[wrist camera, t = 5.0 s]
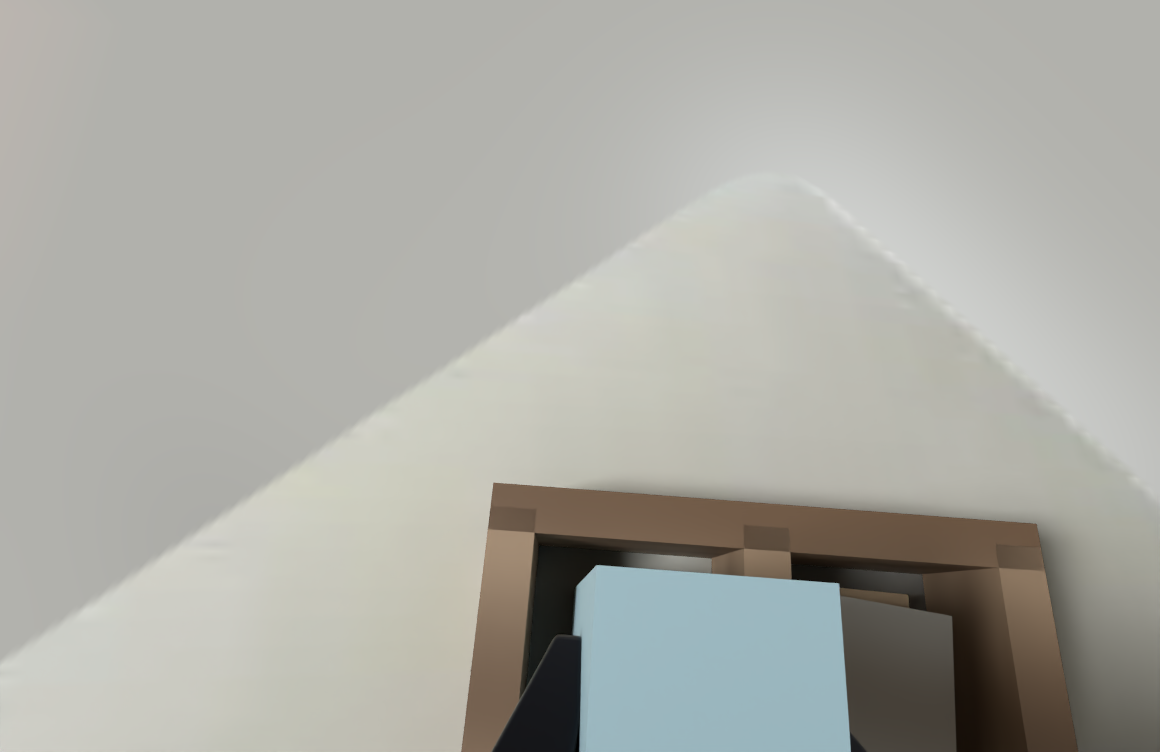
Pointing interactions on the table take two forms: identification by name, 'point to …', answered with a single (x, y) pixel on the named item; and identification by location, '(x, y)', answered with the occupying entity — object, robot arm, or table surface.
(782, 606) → the pale blue tall box
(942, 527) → the rack
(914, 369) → the table surface
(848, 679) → the offcut upper
